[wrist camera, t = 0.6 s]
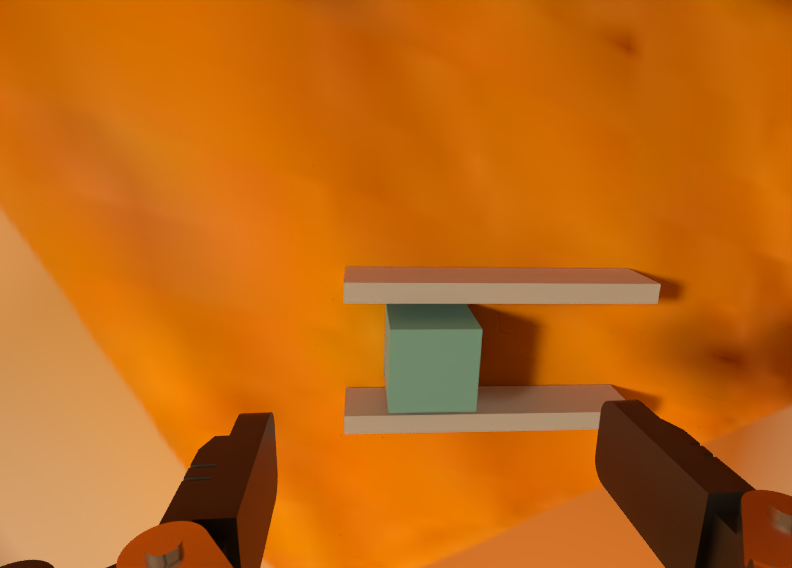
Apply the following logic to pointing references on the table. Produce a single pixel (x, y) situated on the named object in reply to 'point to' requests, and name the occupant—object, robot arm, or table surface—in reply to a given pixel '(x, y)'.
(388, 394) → the teal block
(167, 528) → the robot arm
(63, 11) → the table surface
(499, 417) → the grey channel
